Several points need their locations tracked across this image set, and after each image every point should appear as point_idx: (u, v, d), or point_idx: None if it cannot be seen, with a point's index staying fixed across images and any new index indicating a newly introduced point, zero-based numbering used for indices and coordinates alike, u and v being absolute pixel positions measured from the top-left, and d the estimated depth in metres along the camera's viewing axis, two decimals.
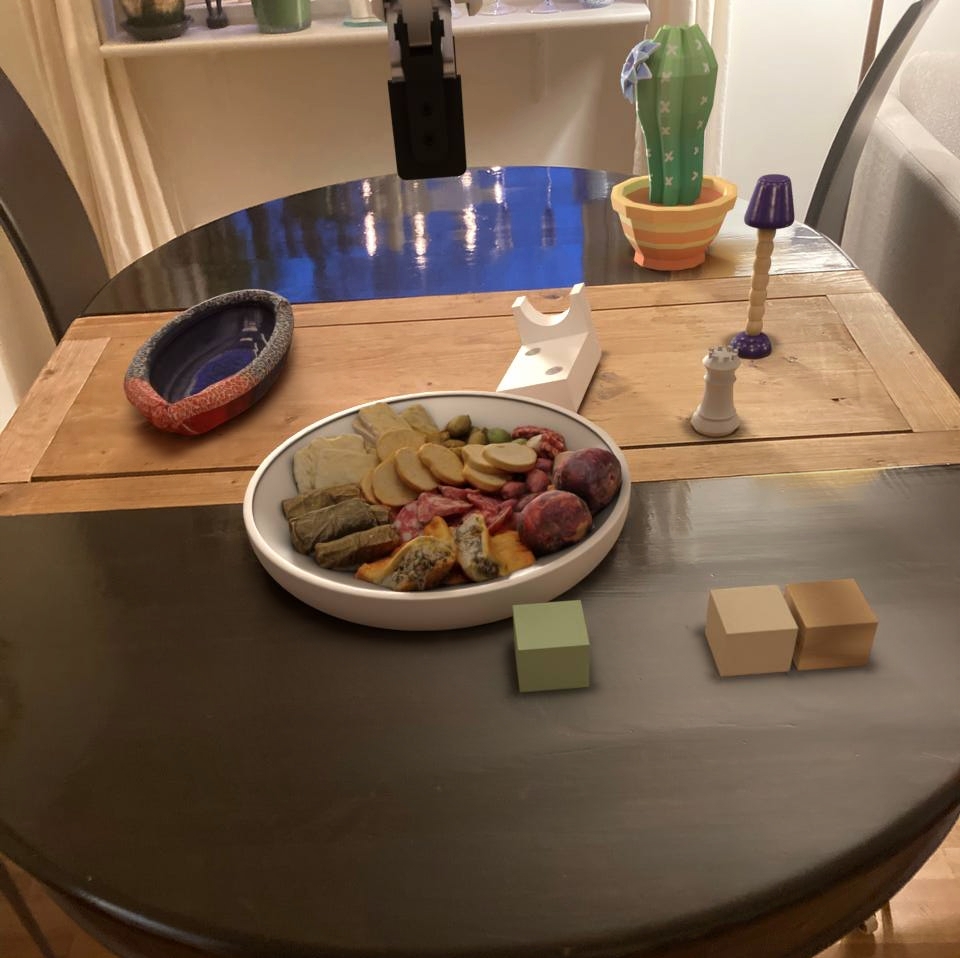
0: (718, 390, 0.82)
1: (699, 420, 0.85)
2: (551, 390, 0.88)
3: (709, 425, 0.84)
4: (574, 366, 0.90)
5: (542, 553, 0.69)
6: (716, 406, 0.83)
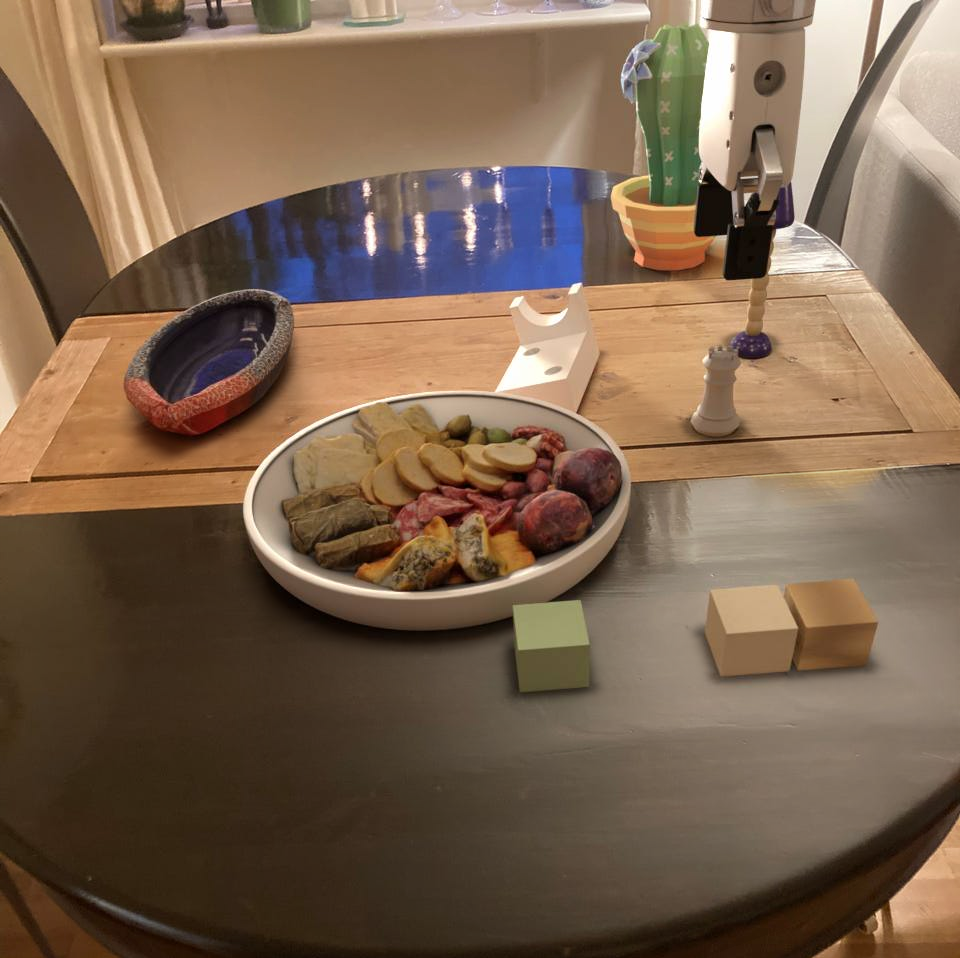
0: (718, 390, 0.82)
1: (699, 420, 0.85)
2: (551, 390, 0.88)
3: (709, 425, 0.84)
4: (573, 366, 0.90)
5: (542, 553, 0.69)
6: (716, 406, 0.83)
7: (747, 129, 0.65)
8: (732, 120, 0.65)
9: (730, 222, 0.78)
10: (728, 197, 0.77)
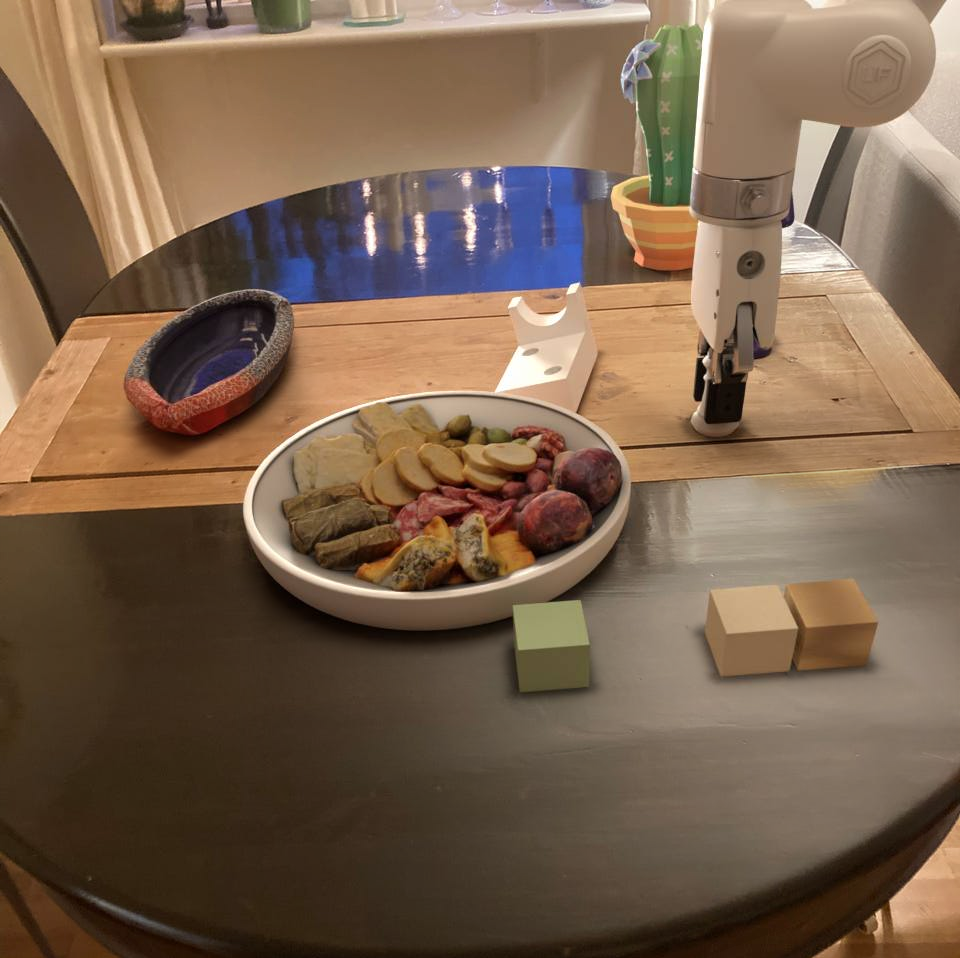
0: None
1: (699, 420, 0.85)
2: (550, 390, 0.88)
3: (709, 425, 0.84)
4: (572, 366, 0.90)
5: (542, 553, 0.69)
6: None
7: (732, 305, 0.74)
8: (718, 297, 0.74)
9: None
10: None
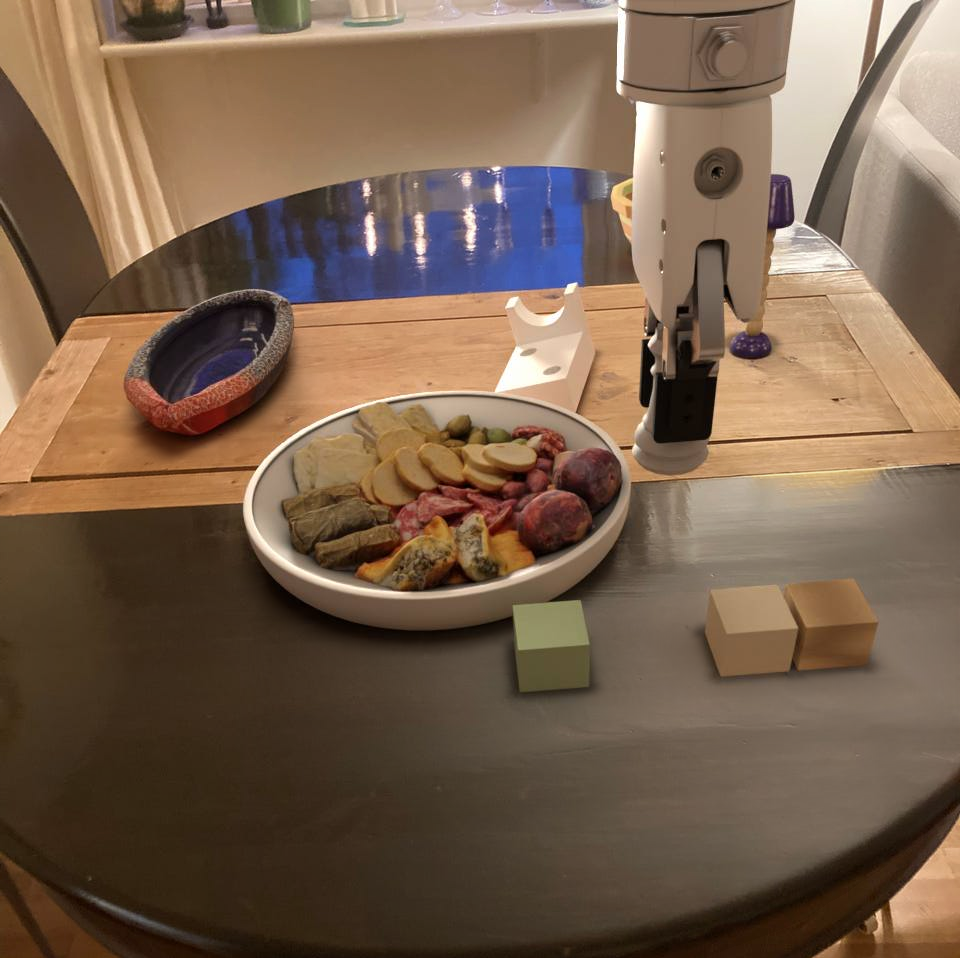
0: None
1: (645, 437, 0.54)
2: (550, 390, 0.88)
3: (660, 445, 0.54)
4: (571, 366, 0.90)
5: (542, 553, 0.69)
6: None
7: (687, 246, 0.43)
8: (665, 233, 0.43)
9: None
10: None
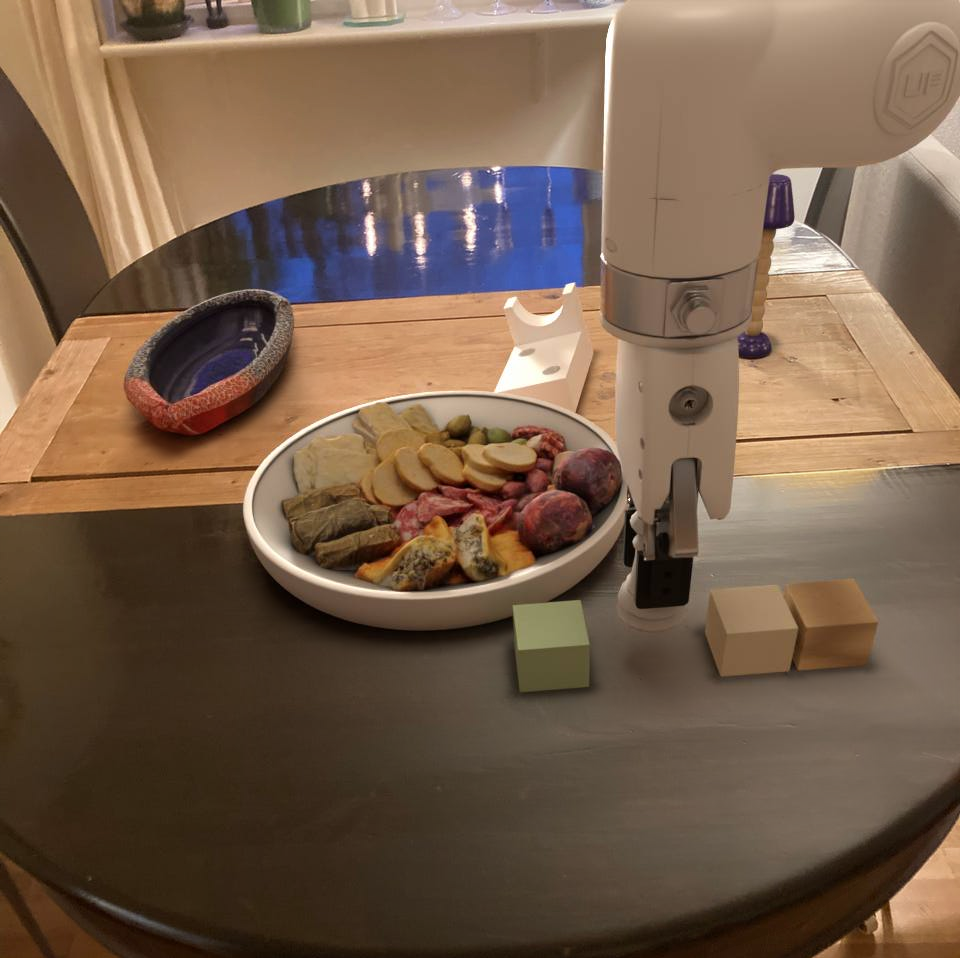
0: None
1: (628, 599, 0.59)
2: (550, 390, 0.88)
3: None
4: (571, 366, 0.90)
5: (542, 553, 0.69)
6: None
7: (664, 463, 0.48)
8: (643, 450, 0.48)
9: None
10: None
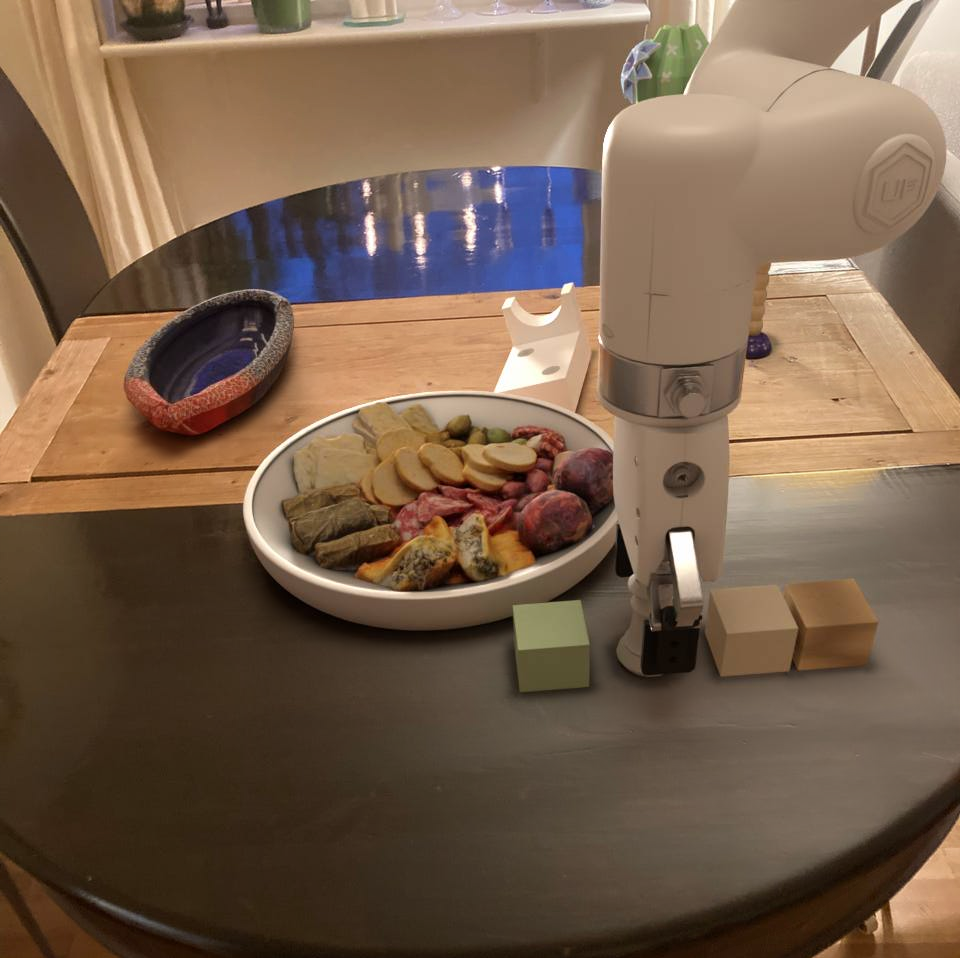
0: None
1: (626, 654, 0.62)
2: (550, 390, 0.88)
3: (639, 663, 0.61)
4: (570, 366, 0.90)
5: (542, 553, 0.69)
6: None
7: (658, 531, 0.51)
8: (639, 519, 0.51)
9: None
10: None
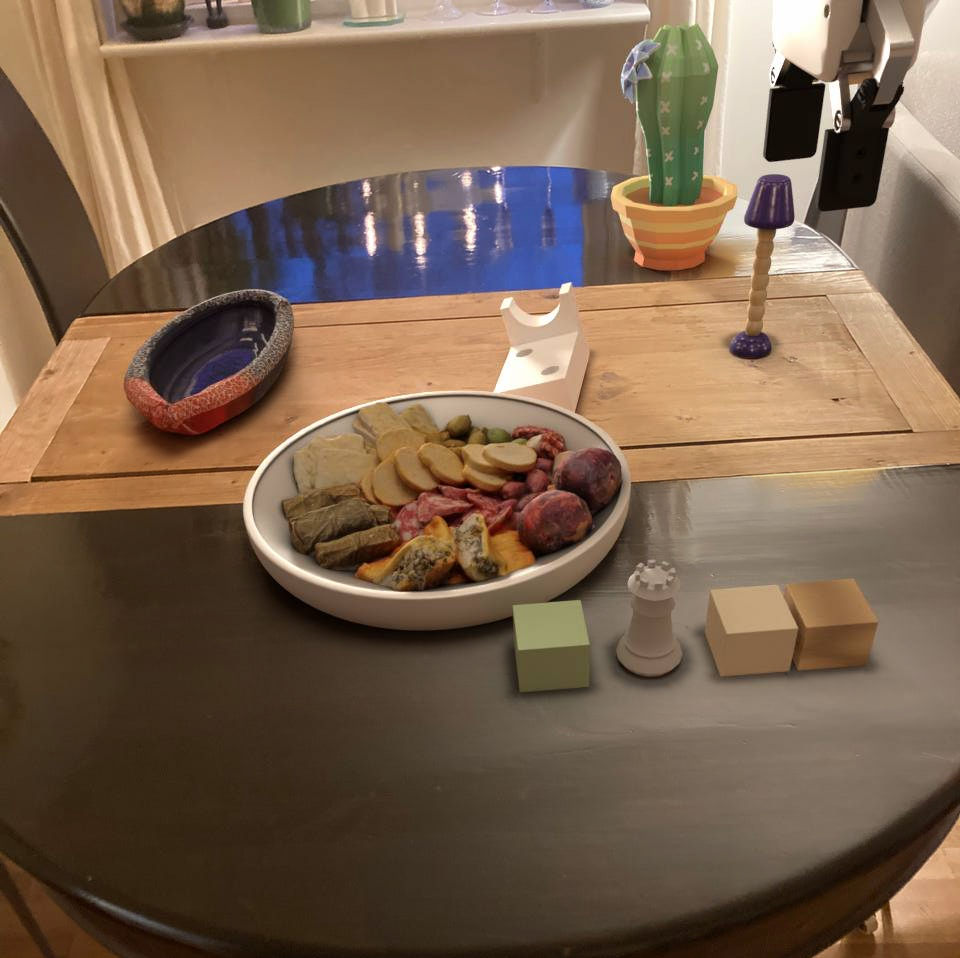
0: (650, 622, 0.60)
1: (626, 654, 0.62)
2: (549, 390, 0.88)
3: (639, 663, 0.61)
4: (569, 366, 0.90)
5: (542, 553, 0.69)
6: (647, 640, 0.61)
7: None
8: None
9: (813, 139, 0.59)
10: (811, 104, 0.57)
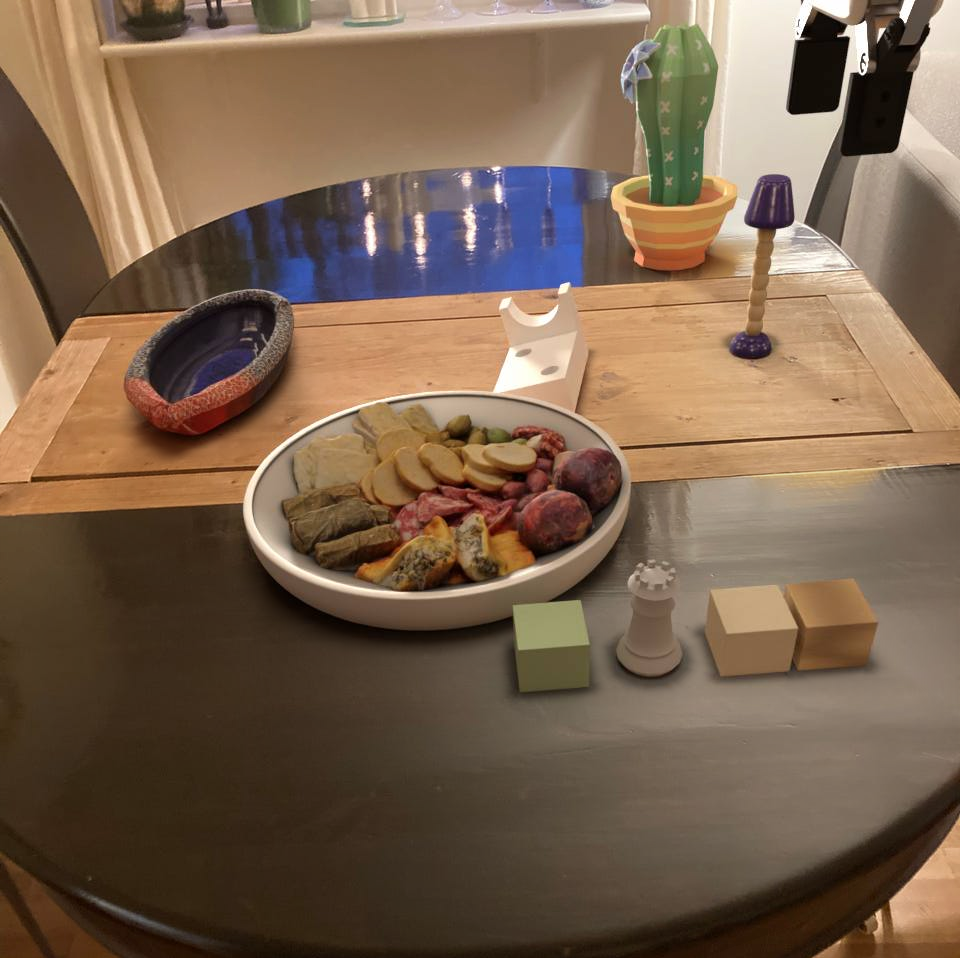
0: (650, 622, 0.60)
1: (626, 654, 0.62)
2: (549, 390, 0.88)
3: (639, 663, 0.61)
4: (569, 365, 0.90)
5: (542, 553, 0.69)
6: (647, 640, 0.61)
7: None
8: None
9: (836, 93, 0.59)
10: (835, 57, 0.58)
